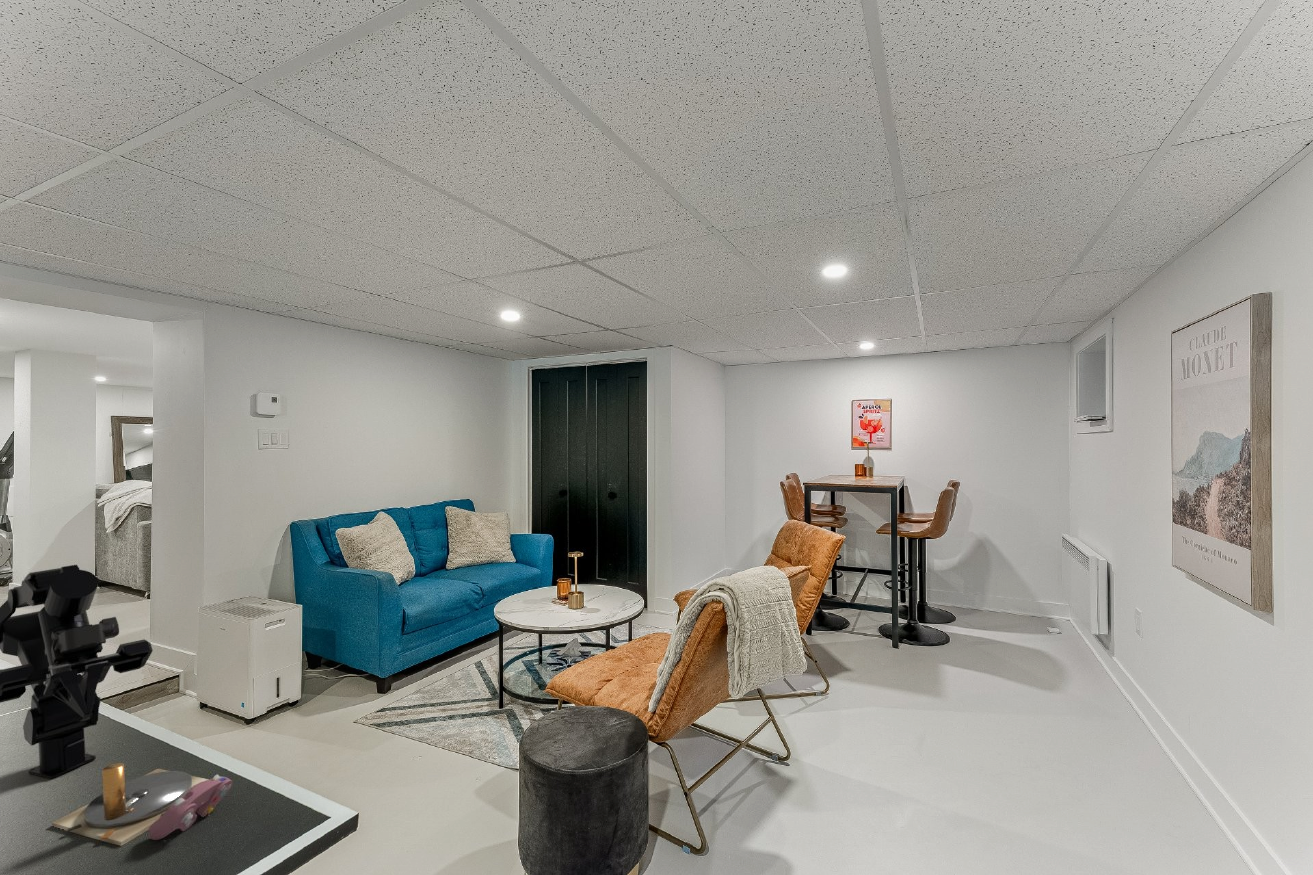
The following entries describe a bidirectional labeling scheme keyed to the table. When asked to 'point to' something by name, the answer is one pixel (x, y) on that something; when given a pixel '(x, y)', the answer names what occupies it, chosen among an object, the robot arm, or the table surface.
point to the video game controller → (191, 806)
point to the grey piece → (134, 796)
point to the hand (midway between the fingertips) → (87, 715)
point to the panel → (116, 834)
